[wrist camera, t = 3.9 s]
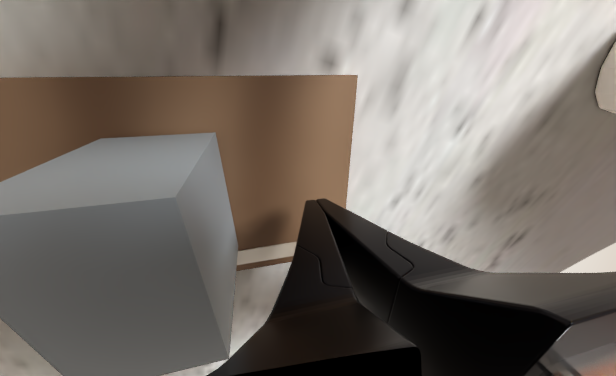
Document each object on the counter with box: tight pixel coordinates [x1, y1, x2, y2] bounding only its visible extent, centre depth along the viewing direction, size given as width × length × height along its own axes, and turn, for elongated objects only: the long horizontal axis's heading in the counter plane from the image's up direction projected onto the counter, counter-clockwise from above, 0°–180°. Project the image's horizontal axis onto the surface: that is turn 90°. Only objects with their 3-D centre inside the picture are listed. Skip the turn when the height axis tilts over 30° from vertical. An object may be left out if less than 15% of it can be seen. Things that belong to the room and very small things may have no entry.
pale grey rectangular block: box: [0, 132, 238, 376], centre depth 8 cm, size 4×8×5 cm, turn 1°
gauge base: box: [0, 75, 358, 271], centre depth 10 cm, size 20×10×1 cm, turn 91°
